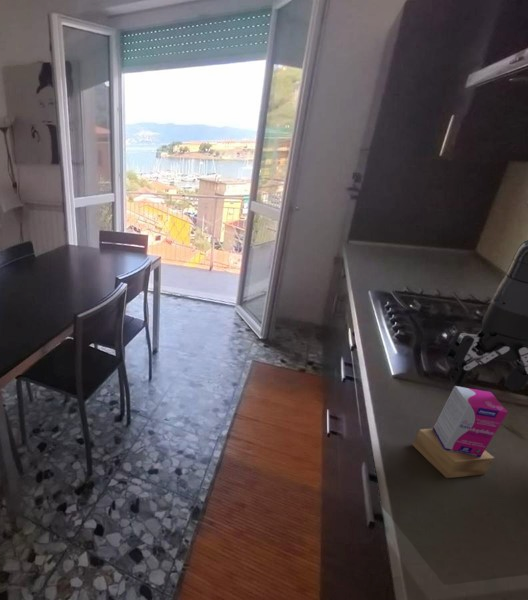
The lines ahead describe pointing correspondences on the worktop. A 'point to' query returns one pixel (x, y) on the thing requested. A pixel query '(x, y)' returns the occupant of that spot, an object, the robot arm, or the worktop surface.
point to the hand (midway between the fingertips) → (483, 386)
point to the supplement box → (469, 421)
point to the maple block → (450, 457)
